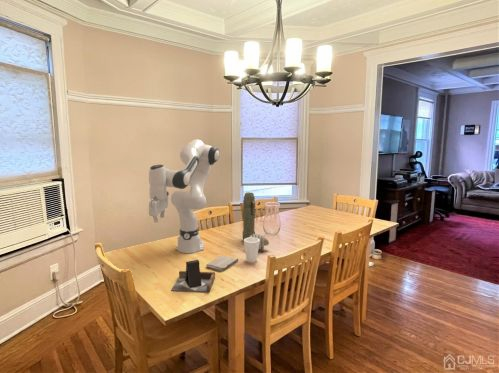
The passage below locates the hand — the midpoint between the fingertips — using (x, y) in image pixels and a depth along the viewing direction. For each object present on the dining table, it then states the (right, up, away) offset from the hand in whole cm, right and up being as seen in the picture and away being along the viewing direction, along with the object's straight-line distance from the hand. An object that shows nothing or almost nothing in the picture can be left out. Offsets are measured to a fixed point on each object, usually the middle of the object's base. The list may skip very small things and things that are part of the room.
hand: (159, 219), depth 173 cm
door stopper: (+21, -31, -12) cm, 39 cm away
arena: (+21, -32, -12) cm, 40 cm away
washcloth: (+34, -28, +13) cm, 46 cm away
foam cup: (+51, -27, +20) cm, 61 cm away
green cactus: (+49, -21, +53) cm, 75 cm away
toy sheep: (+54, -24, +36) cm, 69 cm away
